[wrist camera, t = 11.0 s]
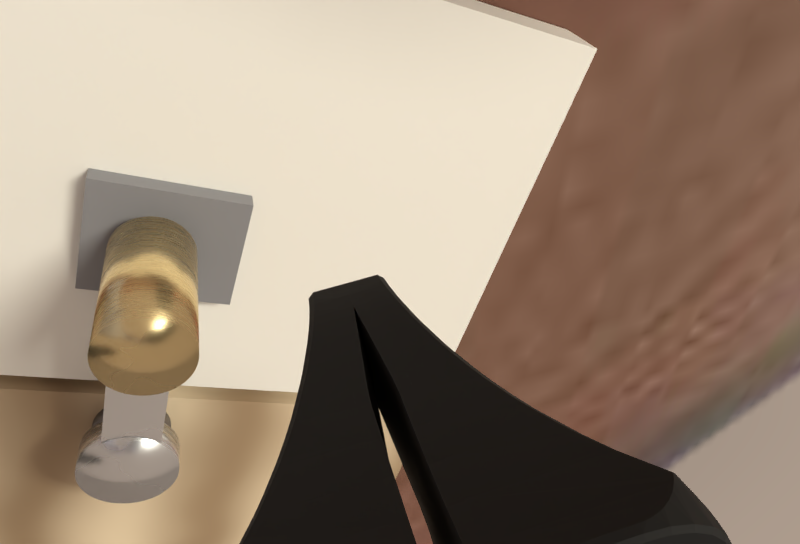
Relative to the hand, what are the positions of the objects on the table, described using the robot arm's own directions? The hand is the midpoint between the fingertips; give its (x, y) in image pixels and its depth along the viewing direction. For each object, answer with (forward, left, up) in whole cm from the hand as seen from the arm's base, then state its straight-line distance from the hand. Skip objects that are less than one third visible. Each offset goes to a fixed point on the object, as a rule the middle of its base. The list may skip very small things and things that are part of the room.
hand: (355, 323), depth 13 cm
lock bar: (-3, -8, -7) cm, 11 cm away
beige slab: (0, -16, -10) cm, 19 cm away
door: (0, -2, -10) cm, 11 cm away
